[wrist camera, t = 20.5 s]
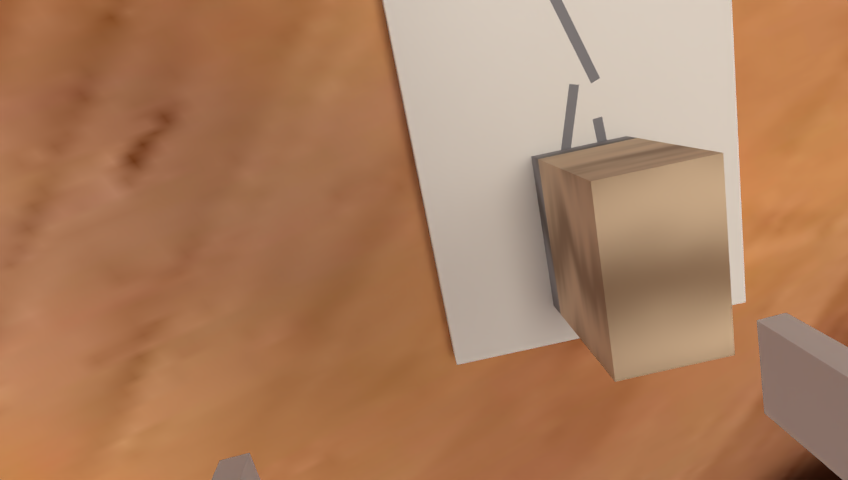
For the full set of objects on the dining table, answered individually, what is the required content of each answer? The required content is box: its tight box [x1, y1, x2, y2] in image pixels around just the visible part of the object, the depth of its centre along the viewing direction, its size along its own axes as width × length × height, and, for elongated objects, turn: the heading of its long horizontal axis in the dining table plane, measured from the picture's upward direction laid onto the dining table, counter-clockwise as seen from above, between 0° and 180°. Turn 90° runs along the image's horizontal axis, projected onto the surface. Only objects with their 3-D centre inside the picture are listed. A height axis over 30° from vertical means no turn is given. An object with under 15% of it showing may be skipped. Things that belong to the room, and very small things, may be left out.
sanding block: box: [531, 136, 735, 382], centre depth 30 cm, size 10×6×10 cm, turn 12°
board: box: [382, 0, 746, 365], centre depth 34 cm, size 30×20×2 cm, turn 11°
